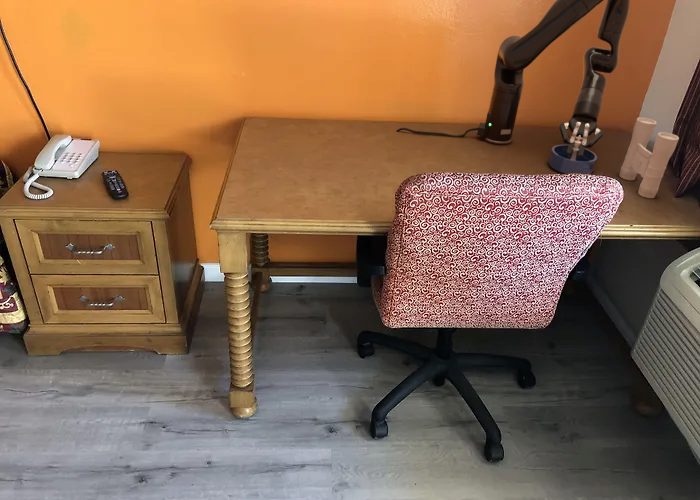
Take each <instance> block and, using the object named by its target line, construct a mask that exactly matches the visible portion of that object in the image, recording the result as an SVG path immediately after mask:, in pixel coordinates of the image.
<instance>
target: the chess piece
mask: <svg viewBox="0 0 700 500" xmlns="http://www.w3.org/2000/svg"><path fill="white" fill-rule="evenodd" d="M581 143H582V137H581V135H579V137H576V138H575V141H574V143H573V144H574V146H575V147H573V150H574V151H573V154H572V156H571V158H570V160H576V154H577V151H579V148H578V147H580V146H581Z"/></svg>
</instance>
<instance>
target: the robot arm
mask: <svg viewBox="0 0 700 500" xmlns="http://www.w3.org/2000/svg"><path fill="white" fill-rule="evenodd" d="M603 1H604V0H555V1H554V2H553V4H552V5H551V6H550V7H549V9H548V10H547V11H546V12H545V14H544V16H543V17H542V19H541V20H540V21H539V22H538V23H537V25H535V26H534V27H533V28H532V29H531V30H529V31H528V32H527V33H526V34H525V35H524V34H523V36H520V35H510V36H507V37H506V38H505V39H504V40H503V41H501V44H500V45H499V46H498V47H499V48H498V50H497V54H496V61H495V66H494V72H493V87H492V91H491V96H490V101H489V106H488V110H487V113H486V114H487V115H486V118H485V122H479V124H478V127H473V128H468V129H467V130H465V132H463V133H462V134H459V135H458V134H457V135H455V134H449V133H444V132H436V131H435V132H434V131H422V130H421V131H420V130H414V129H410V128H408V127H399V128H397V129H396V130H395V132H397V133H399V132H400V131H408V132H410V133H414V134H422V135H434V136H435V135H436V136H444V137H449V138H463V137H465V136H466V135H467V134H468V133H470V132H473V131H477V133H476V135H477V136H481V140H482V141H485V142H487V143H490V144H494V145H501V146H502V145H503V146H504V145H509V144H511V142H512V137H513V134H514V128H515V124H516V121H517V115H518V110H519V107H520V102H521V97H522V94H523V89H524V83H525V82H524V70H525V69H527V68H528V67H529V66H530V65H531V64H532V63H533V62H534V61H535V60H536V59H537V58H538V57H539V56H540V55H541V54H542V53H543V52H544V51H546V49H547V48H548V47H549V46H550V45H551V44H553V43H554V42H555V41H557V39H559V38H560V37H562V36H563V35H564V34H565V33H566V32H567V31H569V30H570V29H571V28H572V27H573V26H575V25H576V24H577V23H579V22H580V21H581V20H583V19H584V18H585V17H586V16H587V15H588V14H589V13H591V12H592V11H593V10H594V9H595V8H596V7H598V6H599V5H600V4H601V3H602V2H603ZM630 5H631V0H606V4H605V7H604V10H603V13H602V16H601V20H600V22H599V26H598V29H597V32H596V38H597V39H598V40H600V41H602V42H605V43H607V44H608V45H609V46H610V48H609V49H608V48H603V47H597V46H591V47H589V48H587V49H586V50H585V52H584V53H583V56H582V72H583V73H582V82H581V84H580V89H579V92H578V95H577V96H576V100H575V103H574V106H573V111H572V115H571V117H570V119H569V120H568V122H560V124H559V128H558V129H559V132H560V135H561V138H562V141H563V144H566V145H568V149H567V153H566V154H567V155H568V157H570V156H571V152H572V149H573V145H574V146H575V143H574V142H575V141H576V137H579V135H581V138H582V140H581V144H580V146H579V147H580V149H579V153H578V156H577V159H579V158H580V157H582V156H583V153H584V149H592V147H593V146H594V145H596V143H598V141H600V140H601V138H603V136H604V133H605V131H604V130H603V129H599V128H598V119H599V115H600V113H601V109H602V105H603V99H604V93H605V90H606V86H607V83H608V81H607V78H606V76H604V75H603V74H608V75H609V74H612V73H614V72H615V71H616V70H617V68H618V66H619V60H620V44H621V38H622V35H623V32H624V30H625V26H626V23H627V20H628V17H629V13H630ZM601 73H602V74H601ZM568 128H569V131H570V132H571V136H570V137H569V134H568V132H567V130H568ZM592 134H594V136H593V137H592V138H591V139H590V140H589V141H588V137H590V136H591V135H592Z"/></svg>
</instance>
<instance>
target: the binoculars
mask: <svg viewBox="0 0 700 500" xmlns="http://www.w3.org/2000/svg"><path fill="white" fill-rule="evenodd" d="M657 124H658V123H657V121H656V120H654V119H652V118H649V117H642V116H641V117H637V118H636V120H635V124H634V126H633V129H632V135H631V140H630V143H629V146H628V148H627V152H626V155H625V157H624V161H623V163H622V165H621V167H620V169H619V170H620V172H619V174H618V176H619V177H620V178H621V179H623V180H627V181H634V180H636V177H637V176H638V174H639V175H640V177H641V178H642V180H641V183H640V184H639V188H638V192H637V194H638V195H639V196H641V197H643V198H646V199H654V198H656V196H657V193H658V192H659V189H660V188H659V187H660V184H661V181H662V179H663V178H664V174H665V171H666V169H667V166H668V164H669V161H670V159H671V157H672V155H673V154H674V152H675V150H676V148H677V145H678V143H679V139H680V137H679V136H678V135H676V134H675V133H674V134H673V133H670V132H665V131H662V132H661V131H660V132H658V133H657V136H656V138H655V141H654V144H653V148H652V151H650V150H649V149H647V146H648V144H649V142H650V140H651V138H652V136H653V135H654V132H655V129H656V125H657Z"/></svg>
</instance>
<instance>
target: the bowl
mask: <svg viewBox="0 0 700 500" xmlns="http://www.w3.org/2000/svg"><path fill="white" fill-rule="evenodd" d="M573 147H575V144H574V145H573ZM578 148H579V149H580V146H579V147H578ZM567 149H568V144H557V145H554V146H553V147H551V149H550V154H549V157H548V165H549V166H550V167H551V168H552V169H554V170H555V171H556V172H558V173H561V174H564V173H581V174H589V175H592V174H593V173H594V170H595V167H596V163H597V162H598V161H597V160H598V155H597V154H596V153H595V152H594V151H592V150H590V149H589V148H585V149H584V153H583V156H582V157H580V158H579V159H577V156H578V153H579V151H577V154H576V160H570V158H571V156H572V154H573V151H574V150H573V149H572V152H571V156H570V157H568V155H567V154H566V153H567Z"/></svg>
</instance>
